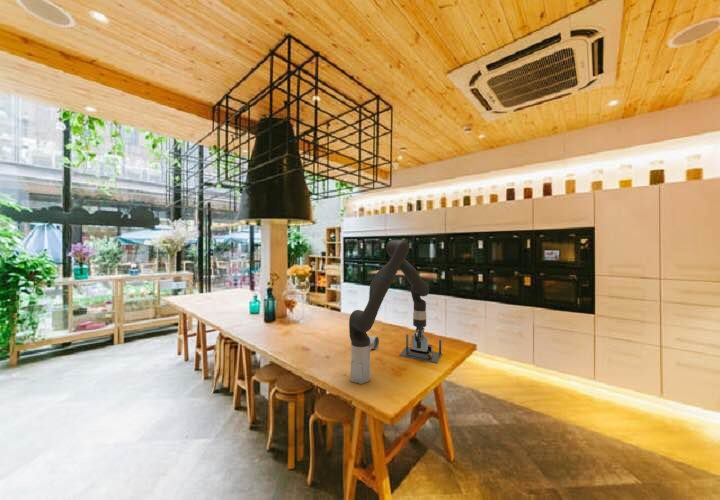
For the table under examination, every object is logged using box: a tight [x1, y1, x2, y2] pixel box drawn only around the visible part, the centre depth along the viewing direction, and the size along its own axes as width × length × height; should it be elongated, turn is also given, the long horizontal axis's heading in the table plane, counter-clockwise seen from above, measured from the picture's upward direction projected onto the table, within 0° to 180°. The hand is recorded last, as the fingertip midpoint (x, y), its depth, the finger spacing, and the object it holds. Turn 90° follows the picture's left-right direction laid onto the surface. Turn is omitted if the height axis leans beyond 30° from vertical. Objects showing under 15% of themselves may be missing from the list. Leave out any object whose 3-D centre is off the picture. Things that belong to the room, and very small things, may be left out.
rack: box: [398, 334, 443, 364], centre depth 160 cm, size 14×22×9 cm, turn 63°
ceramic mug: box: [368, 335, 380, 351], centre depth 170 cm, size 11×8×8 cm
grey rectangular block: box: [410, 333, 429, 352], centre depth 157 cm, size 3×9×8 cm, turn 63°
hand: (419, 346), depth 157 cm, fingers closed on grey rectangular block, 3 cm apart
